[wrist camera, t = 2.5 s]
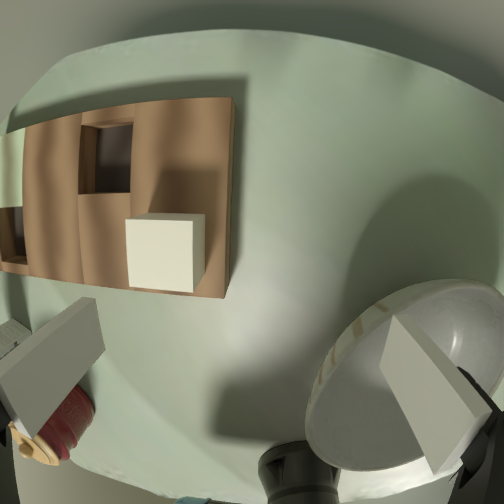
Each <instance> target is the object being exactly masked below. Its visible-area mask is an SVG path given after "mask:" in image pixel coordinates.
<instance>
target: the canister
mask: <svg viewBox="0 0 504 504" xmlns="http://www.w3.org/2000/svg"><path fill="white" fill-rule="evenodd" d="M93 417H94V408H93V405H92V403H91V401H90V400H89V398H88V397H87V395H86V394H85V393H84V391H83V390H82V389H81V388H80V387H79V386H78V385H77V384H76V385H75V386H74V388H73V389H72V390H71V391H70V393H69V394H68V395H67V396H66V397H65V399H64V400H63V401H62V402H61V404H60V405H59V406H58V407H57V409H56V410H55V411H54V412H53V414H52V415H51V416H50V418H49V419H48V420H47V421H46V423H45V424H44V425H43V427H42V428H41V429H40V430H39V432H38V433H37V434H36V436H35V437H34V438H33V440H32V439H30V438H28V437H27V436H25V435H23V434H21V433H20V432H19V431H18V430H17V428H16V427H15V425H14V424H13V422H12V421H11V422H10V423H9V424H8V425H9V427H10V429H11V432H12V436H13V438H14V439H15V440H16V442H17V443H18V444H19V445H20V446H19V452H20V454H21V455H22V456H23V457H25V458H31V457H33V458H35V459H36V460H38V461H39V462H41V463H44V464H50V465H54V466H58V465H59V464H60V460H68V459H69V457H70V453H69V451H70V450H71V449H72V448H75V447H76V446H77V443H78V441H79V439H80V438H81V436H82V435H83V433H84V432H85V430H86V428H87V427H89V426H90V424H91V423H92V420H93Z"/></svg>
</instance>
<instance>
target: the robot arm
mask: <svg viewBox="0 0 504 504" xmlns="http://www.w3.org/2000/svg"><path fill="white" fill-rule="evenodd" d="M105 350H106V349H105V345H104V341H103V336H102V332H101V327H100V322H99V317H98V311H97V305H96V299H94V298H87V297H82V298H80V299H79V300H78V301H76V302H75V303H73V304H72V305H71V306H69V307H68V308H66V309H65V310H64V311H62V312H61V313H60V314H58V315H57V316H56V317H54V318H53V319H52V320H50V321H49V322H48V323H46V324H45V325H44V326H42V327H41V328H40V329H38V330H37V331H36V332H35V333H33V334H32V335H31V336H29V337H28V338H27V339H26V340H24V341H23V342H22V343H20V344H18V345H16V346H15V347H14V348H13V349H11V350H10V352H8V353H6V354H5V355H4V357H2V358H0V504H20V500H19V495H18V490H17V484H16V477H15V469H14V460H13V450H12V432H11V429H10V427H9V425H8V424H9V423H10V422H11V421H12V422H13V424H14V425H15V427H16V428H17V430H18V431H19V432H20V433H21V434H23V435H25V436H27V437H28V438H30V439H32V440H33V438H34V437H35V436H36V434H37V433H38V432H39V430H40V429H41V428H42V427H43V425H44V424H45V423H46V421H47V420H48V419H49V418H50V416H51V415H52V414H53V412H54V411H55V410H56V409H57V407H58V406H59V405H60V404H61V402H62V401H63V400H64V399H65V397H66V396H67V395H68V394H69V393H70V391H71V390H72V389H73V388H74V386H75V385H76V384H77V383H78V382H79V380H80V379H81V378H82V377H83V376H84V374H85V373H86V372H87V371H88V370H89V368H90V367H91V366H92V365H93V364H94V363H95V361H96V360H97V359H98V358H99V357H100V356H101V354H102V353H103V352H104V351H105ZM379 368H380V369H381V371H382V373H383V375H384V377H385V378H386V380H387V382H388V384H389V386H390V388H391V390H392V392H393V393H394V395H395V397H396V399H397V401H398V403H399V405H400V407H401V409H402V411H403V413H404V415H405V416H406V418H407V420H408V422H409V424H410V426H411V428H412V430H413V432H414V434H415V436H416V438H417V441H418V443H419V445H420V447H421V449H422V451H423V453H424V455H425V457H426V459H427V462H428V464H429V466H430V468H431V470H432V472H433V475H436V474H439V473H441V472H444V471H447V470H449V469H452V467H453V466H454V465H455V464H456V462H457V461H458V460H459V459H460V458H461V460H462V462H463V465H462V466H461V467H460V468H459V470H458V471H457V472H456V473H455V474H454V475H453V476H452V478H451V479H450V480H449V482H448V483H451V482H452V481H453V480H454V479H455V478H456V477H457V478H456V481H455V484H454V488H453V490H452V494H451V496H450V499H449V502H448V504H504V411H503V412H502V411H501V410H500V409H499V408H498V407H497V405H496V404H495V403H494V402H493V400H492V399H491V398H490V397H489V396H488V394H487V393H486V392H485V391H484V390H483V389H481V386H480V385H479V384H478V383H476V380H475V379H474V378H473V377H472V376H471V375H470V374H469V373H468V372H467V371H465V370H464V369H462V368H461V367H459V366H458V367H456V366H455V365H454V364H453V363H452V362H451V360H450V359H449V358H448V357H447V356H446V355H445V354H444V353H443V352H442V350H441V349H440V348H439V347H438V346H437V345H436V344H435V343H434V342H433V341H432V339H431V338H430V337H429V336H428V335H427V334H426V333H425V332H424V331H423V330H422V329H421V328H420V327H419V326H418V325H417V323H416V322H415V321H414V320H413V319H412V318H411V317H410V316H409V315H408V314H398V315H393V317H392V321H391V325H390V329H389V333H388V337H387V340H386V344H385V348H384V351H383V355H382V358H381V362H380V365H379ZM340 473H341V469H340V468H337V467H334V466H332V465H330V464H328V463H326V462H324V461H323V460H321V459H320V458H319V457H318V456H317V455H316V454H315V453H314V452H313V450H312V449H311V447H310V446H309V443H308V441H300V442H293V443H288V444H284V445H281V446H278V447H276V448H273V449H271V450H270V451H268V452H266V453H265V454H264V455H263V456H262V457H261V458H260V460H259V463H258V475H259V478H260V480H261V483H262V485H263V488H264V490H265V492H266V495H267V497H268V504H340V502H339V497H338V492H337V487H338V482H339V478H340ZM174 504H240V503H231V502H223V501H216V500H212V499H210V498H207V499H203V498H195V497H182V498H180V499H178V500H177V501H176V502H175V503H174Z"/></svg>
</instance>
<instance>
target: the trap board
mask: <svg viewBox="0 0 504 504" xmlns="http://www.w3.org/2000/svg"><path fill="white" fill-rule="evenodd" d="M235 112H236V107H235V104H234V102H233V99H232V97H209V98H186V99H172V100H160V101H150V102H142V103H134V104H127V105H120V106H114V107H108V108H102V109H97V110H92V111H87V112H82V113H77V114H73V115H69V116H64V117H60V118H57V119H53V120H49V121H45V122H42V123H38V124H35V125H32V126H28V127H25V128H22V129H19V130H16V131H13V132H10V133H8V134H5V135H2V136H0V271H5V272H10V273H16V274H21V275H27V276H33V277H39V278H45V279H52V280H58V281H65V282H72V283H79V284H86V285H93V286H101V287H109V288H117V289H125V290H134V291H143V292H153V293H163V294H173V295H184V296H196V297H209V298H222V299H224V298H225V295H226V292H227V289H228V286H229V254H230V222H231V194H232V171H233V149H234V130H235ZM145 213H185V214H205V275H204V276H203V278H202V279H201V281H200V283H199V284H198V286H197V287H196V289H195V290H194V292H193V293H191V292H180V291H169V290H158V289H148V288H138V287H129V277H128V264H127V248H126V224H125V219H128V218H131V217H135V216H138V215H141V214H145Z"/></svg>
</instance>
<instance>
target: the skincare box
mask: <svg viewBox="0 0 504 504" xmlns="http://www.w3.org/2000/svg"><path fill="white" fill-rule="evenodd" d="M31 335H32V333H31V331H30V330H29V329H27V328H26V327H24V326H23V325H22V324H20V323H19V322H17V321H16V320H15V319H13V318H12V319H11V320H9V321H7V322H6V323H4V324H2V325H0V358H2V357H4V355H5V354H6V353H8V352H10V350H11V349H13V348H14V347H15V346H16V345H18V344H20V343H22V342H23V341H24V340H26V339H27V338H28V337H29V336H31Z"/></svg>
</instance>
